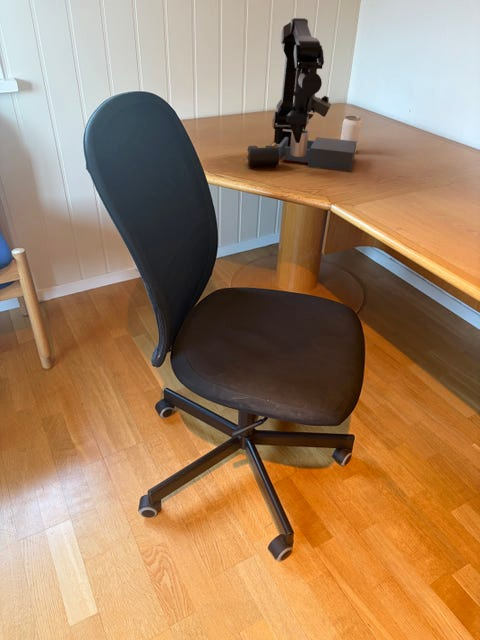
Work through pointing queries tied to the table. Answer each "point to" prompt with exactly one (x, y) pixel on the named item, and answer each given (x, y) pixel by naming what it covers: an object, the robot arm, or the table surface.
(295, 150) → the measuring cup
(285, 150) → the drawer
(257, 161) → the end cap
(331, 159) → the cabinet
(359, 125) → the can
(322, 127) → the table surface
